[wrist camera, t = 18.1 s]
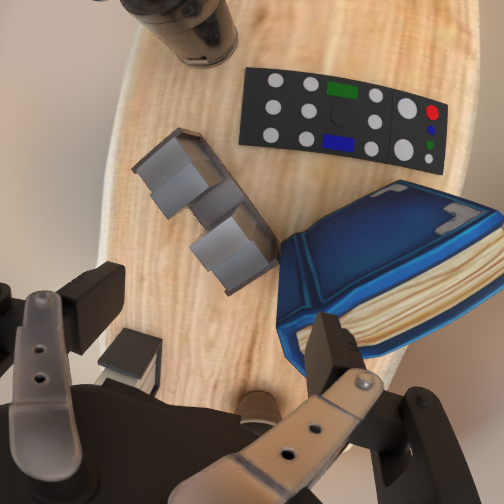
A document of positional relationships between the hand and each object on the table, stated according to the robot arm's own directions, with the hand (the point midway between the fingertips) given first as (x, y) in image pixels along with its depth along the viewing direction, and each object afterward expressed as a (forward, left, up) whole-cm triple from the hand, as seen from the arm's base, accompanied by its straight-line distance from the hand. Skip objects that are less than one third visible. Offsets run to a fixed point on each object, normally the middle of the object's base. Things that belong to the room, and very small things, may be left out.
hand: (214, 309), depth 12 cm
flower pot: (+31, -22, -33) cm, 51 cm away
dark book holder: (+11, -35, -33) cm, 49 cm away
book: (+11, +8, -33) cm, 36 cm away
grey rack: (-3, -5, -33) cm, 34 cm away
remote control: (-2, +17, -33) cm, 38 cm away
